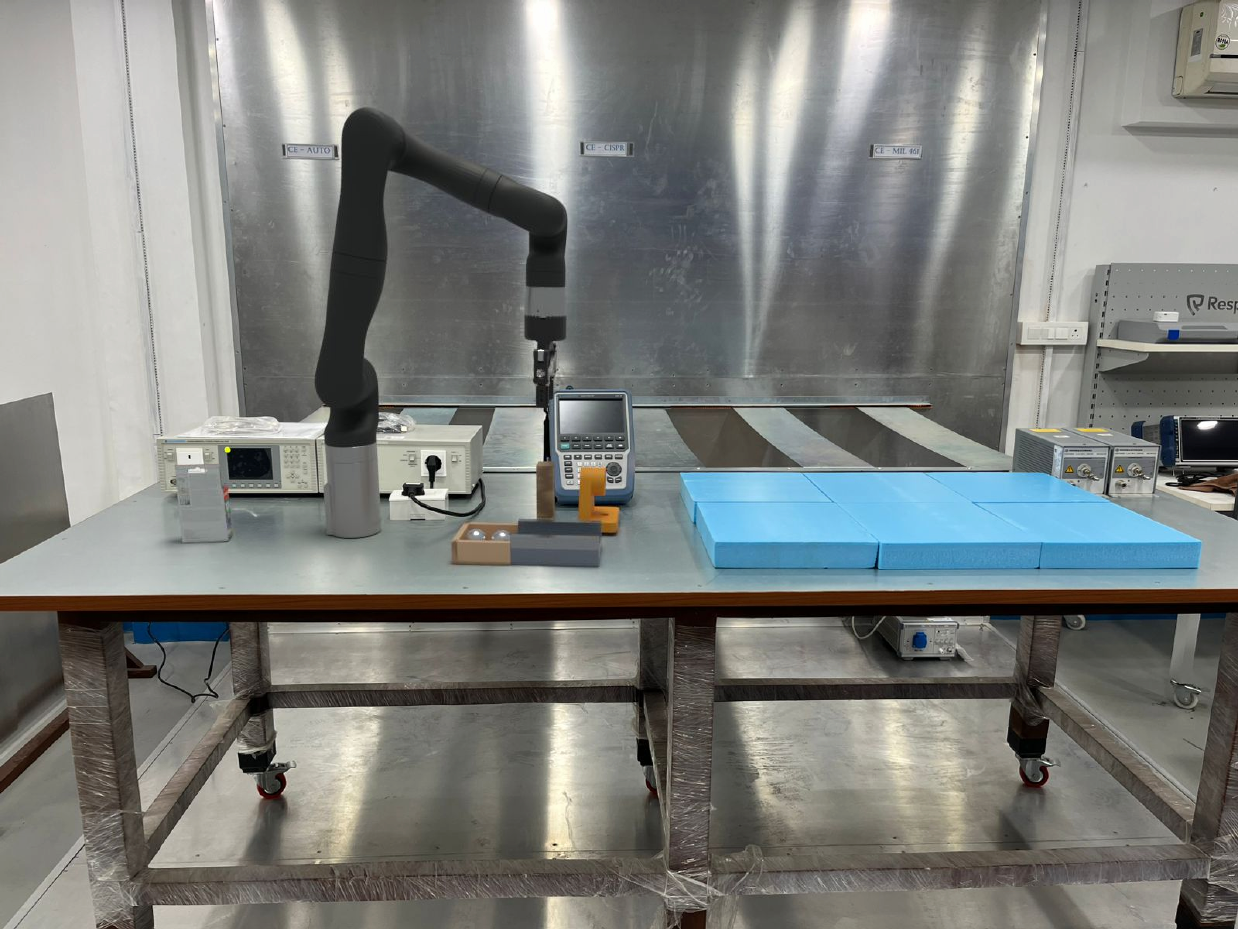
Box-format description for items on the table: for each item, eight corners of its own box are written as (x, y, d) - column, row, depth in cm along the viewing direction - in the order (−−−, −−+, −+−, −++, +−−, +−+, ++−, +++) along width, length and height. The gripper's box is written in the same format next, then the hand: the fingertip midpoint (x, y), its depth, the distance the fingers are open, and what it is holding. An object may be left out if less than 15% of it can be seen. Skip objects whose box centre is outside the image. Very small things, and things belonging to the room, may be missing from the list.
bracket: (616, 536, 160) (617, 475, 157) (578, 535, 160) (578, 474, 157) (619, 520, 170) (620, 462, 167) (583, 518, 170) (583, 461, 168)
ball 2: (484, 542, 146) (503, 531, 145) (488, 532, 150) (507, 522, 149) (496, 560, 147) (515, 550, 146) (500, 550, 151) (519, 540, 150)
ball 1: (457, 541, 146) (475, 529, 146) (462, 533, 150) (480, 521, 149) (471, 559, 147) (490, 547, 146) (476, 551, 151) (493, 539, 150)
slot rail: (510, 564, 144) (510, 536, 142) (519, 544, 154) (519, 518, 153) (598, 567, 143) (598, 539, 142) (601, 546, 153) (601, 520, 152)
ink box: (188, 537, 155) (179, 460, 152) (233, 535, 156) (226, 459, 153) (181, 544, 152) (172, 465, 148) (228, 542, 153) (220, 464, 149)
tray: (452, 564, 144) (451, 541, 143) (465, 543, 154) (464, 522, 153) (510, 565, 143) (510, 543, 142) (519, 544, 154) (519, 523, 153)
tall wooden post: (536, 540, 157) (535, 466, 153) (539, 530, 162) (539, 460, 159) (552, 540, 157) (551, 467, 153) (555, 531, 162) (554, 460, 159)
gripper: (529, 310, 157) (529, 396, 160) (518, 314, 143) (518, 409, 147) (569, 311, 156) (568, 397, 160) (562, 316, 143) (561, 410, 146)
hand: (544, 403), depth 153 cm, fingers open, 8 cm apart
